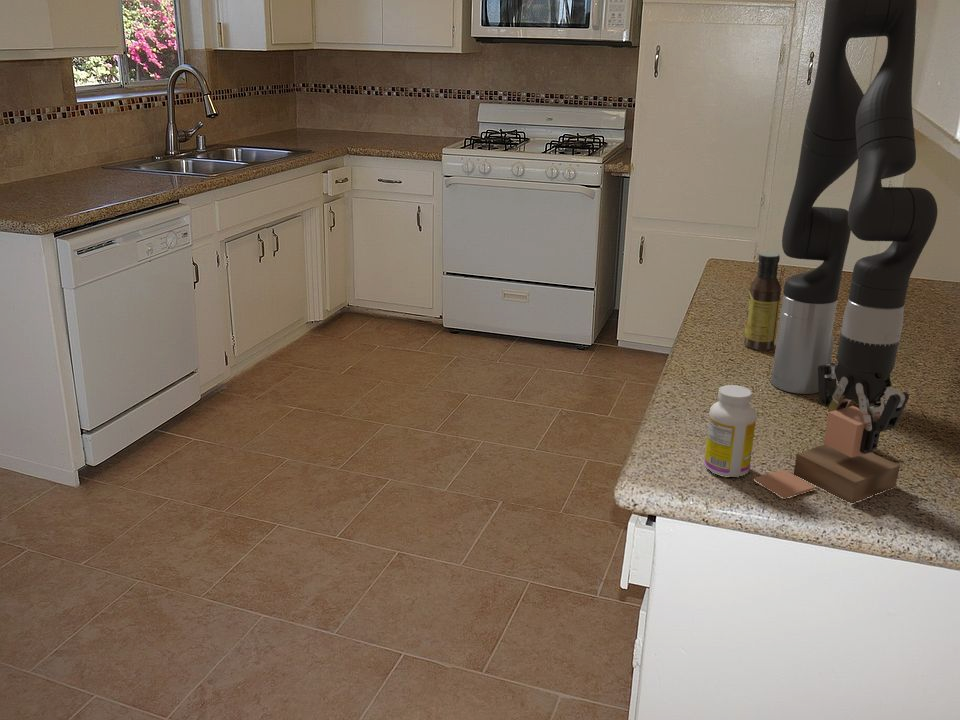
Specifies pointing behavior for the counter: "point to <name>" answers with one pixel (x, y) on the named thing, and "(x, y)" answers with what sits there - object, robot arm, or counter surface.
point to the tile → (784, 483)
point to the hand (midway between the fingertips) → (850, 443)
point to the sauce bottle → (763, 304)
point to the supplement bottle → (730, 432)
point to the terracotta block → (845, 431)
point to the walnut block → (846, 472)
